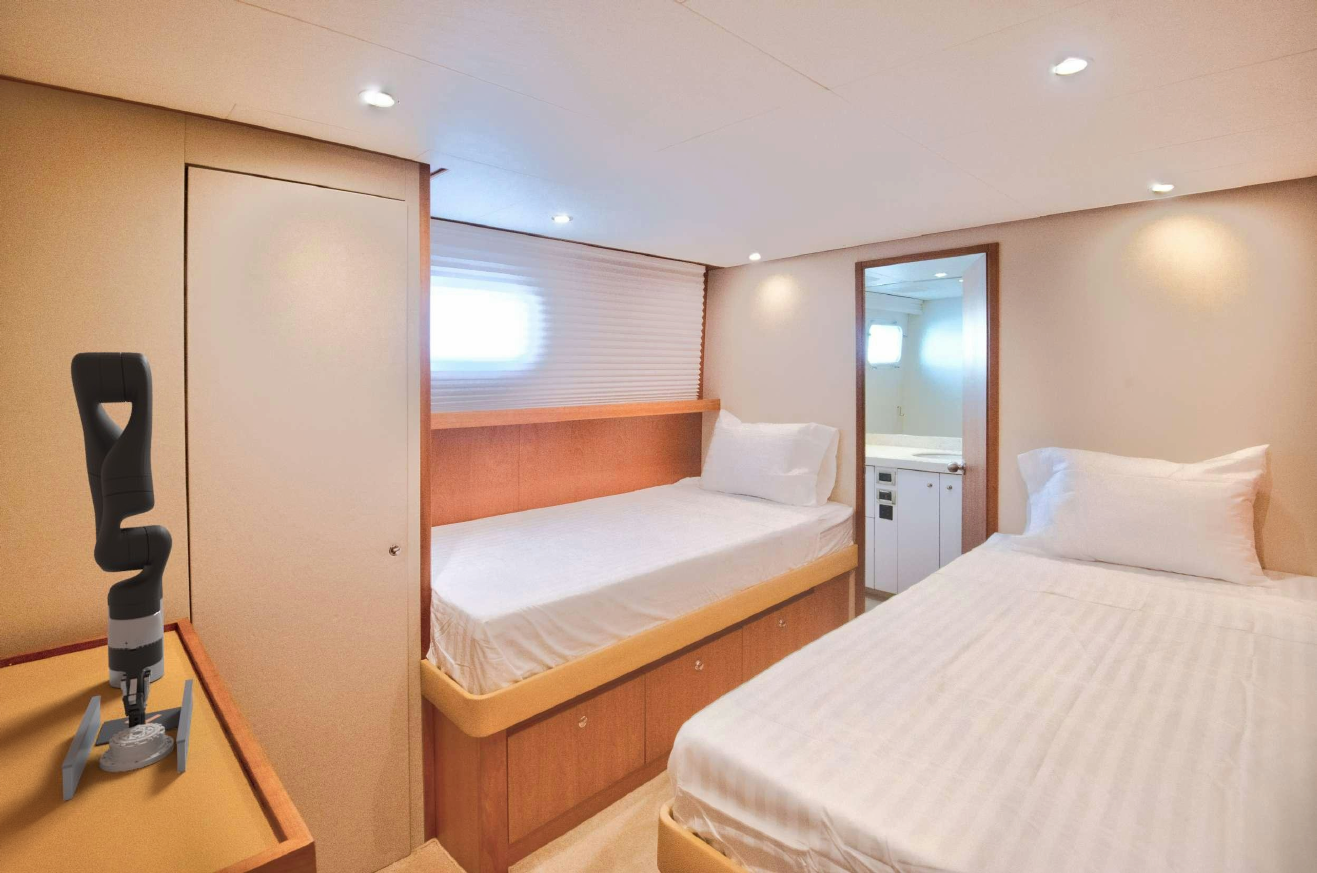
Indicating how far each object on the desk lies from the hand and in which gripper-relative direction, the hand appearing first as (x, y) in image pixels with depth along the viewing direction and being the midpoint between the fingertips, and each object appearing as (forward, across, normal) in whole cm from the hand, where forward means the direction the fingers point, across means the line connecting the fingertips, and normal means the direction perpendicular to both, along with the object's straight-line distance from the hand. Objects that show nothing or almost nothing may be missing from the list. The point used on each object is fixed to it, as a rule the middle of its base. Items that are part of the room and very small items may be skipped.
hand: (137, 731), depth 115 cm
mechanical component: (+2, +6, +1) cm, 6 cm away
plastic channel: (+2, +3, 0) cm, 3 cm away
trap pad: (+2, -6, 0) cm, 6 cm away
